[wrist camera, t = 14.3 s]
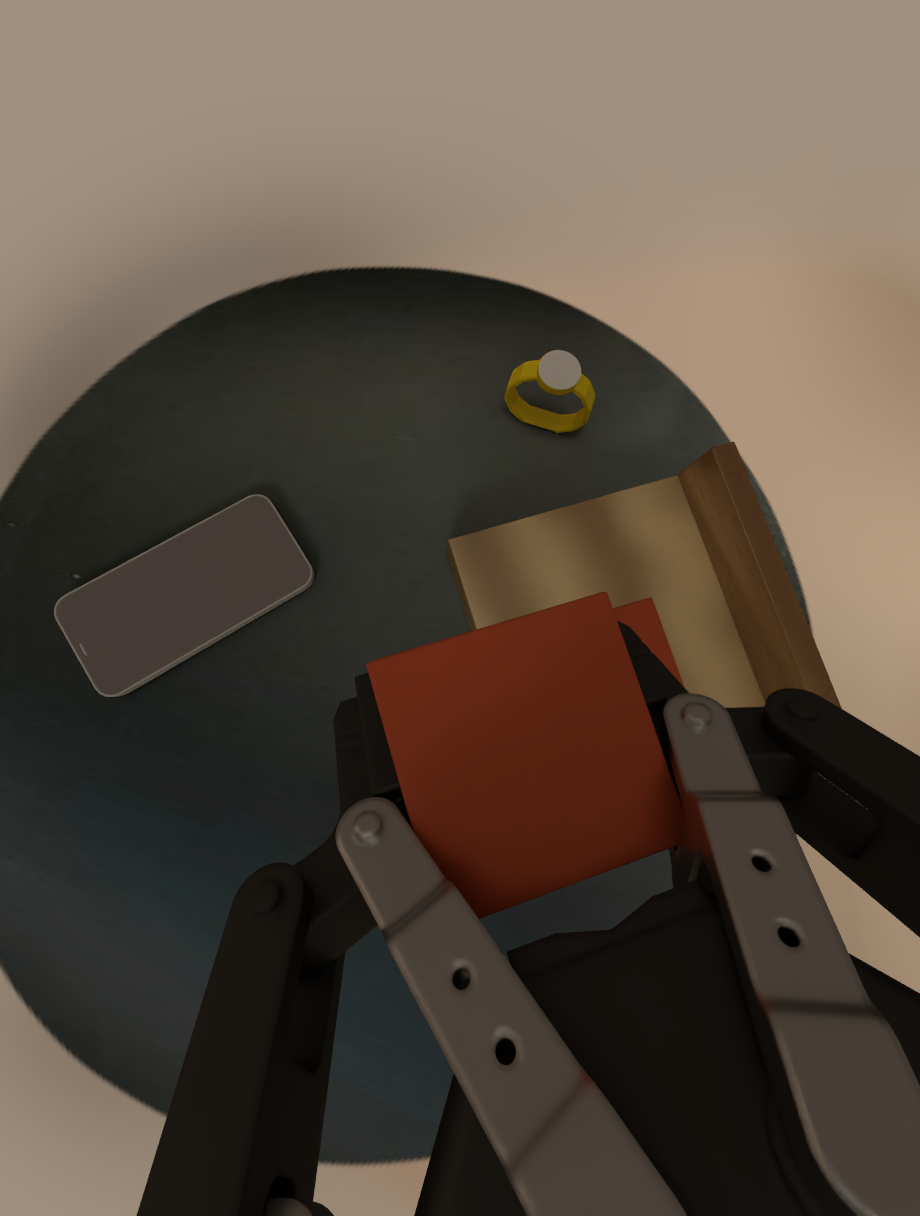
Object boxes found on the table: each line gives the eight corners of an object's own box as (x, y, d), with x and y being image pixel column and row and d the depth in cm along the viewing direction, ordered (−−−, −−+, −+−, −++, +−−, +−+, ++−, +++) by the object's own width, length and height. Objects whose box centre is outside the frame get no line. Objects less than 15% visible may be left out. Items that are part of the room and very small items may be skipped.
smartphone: (319, 579, 33) (103, 704, 30) (322, 582, 34) (112, 704, 31) (262, 487, 33) (46, 603, 31) (266, 493, 34) (57, 606, 32)
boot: (431, 796, 20) (440, 934, 9) (396, 674, 20) (365, 662, 9) (659, 719, 21) (919, 756, 10) (620, 606, 21) (823, 525, 10)
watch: (582, 416, 37) (613, 366, 31) (572, 449, 37) (601, 405, 31) (507, 390, 37) (524, 335, 31) (496, 422, 36) (510, 372, 30)
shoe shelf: (536, 836, 32) (568, 878, 25) (445, 551, 35) (452, 519, 28) (775, 748, 34) (865, 765, 28) (675, 486, 37) (734, 440, 30)
